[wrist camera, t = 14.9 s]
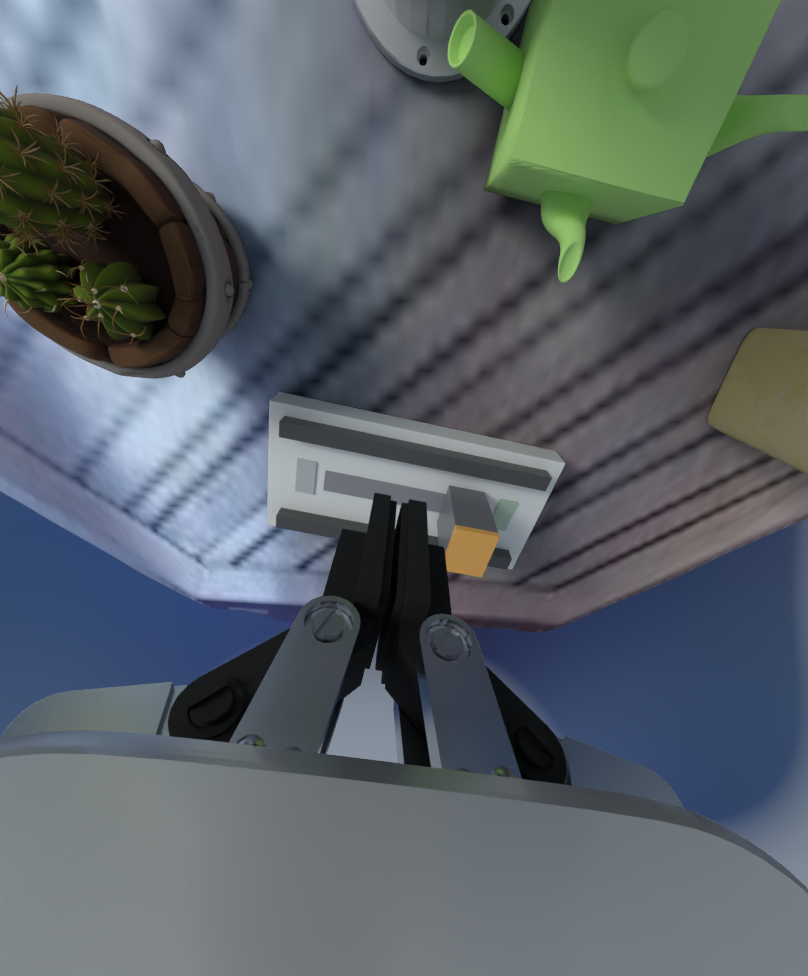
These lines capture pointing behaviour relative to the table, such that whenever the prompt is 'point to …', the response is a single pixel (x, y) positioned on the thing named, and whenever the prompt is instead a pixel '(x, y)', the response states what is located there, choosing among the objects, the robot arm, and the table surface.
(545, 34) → the kettle
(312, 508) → the breaker panel
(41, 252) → the flowerpot
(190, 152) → the table surface
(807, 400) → the cheese
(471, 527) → the block
